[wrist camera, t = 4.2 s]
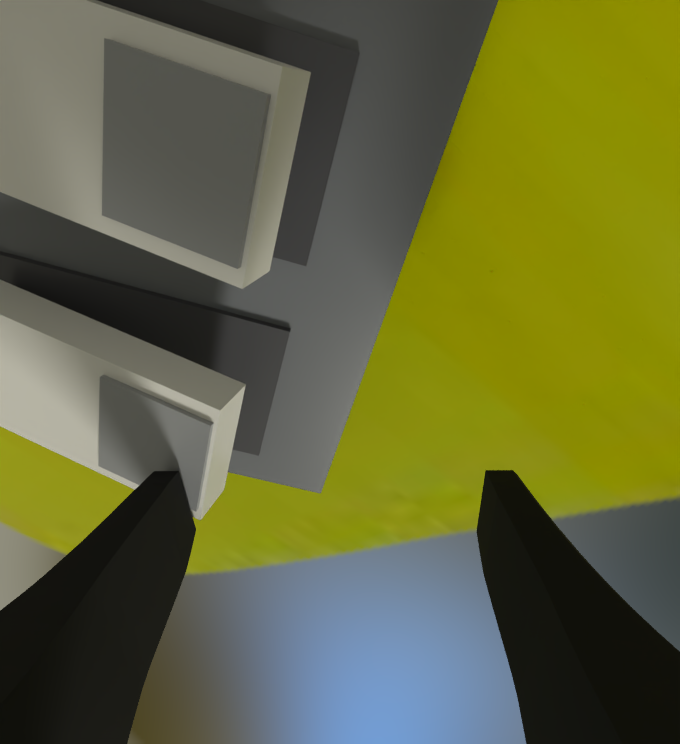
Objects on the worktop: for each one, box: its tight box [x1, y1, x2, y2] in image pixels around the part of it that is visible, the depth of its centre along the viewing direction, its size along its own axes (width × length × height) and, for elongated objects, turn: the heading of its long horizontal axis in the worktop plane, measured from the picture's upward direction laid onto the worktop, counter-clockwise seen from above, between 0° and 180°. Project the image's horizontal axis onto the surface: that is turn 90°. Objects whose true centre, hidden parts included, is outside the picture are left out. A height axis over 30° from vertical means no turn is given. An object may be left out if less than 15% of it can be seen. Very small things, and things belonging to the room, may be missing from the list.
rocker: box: [0, 280, 246, 520], centre depth 12 cm, size 7×4×1 cm, turn 75°
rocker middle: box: [0, 0, 311, 289], centre depth 9 cm, size 7×4×1 cm, turn 74°
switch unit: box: [0, 0, 498, 493], centre depth 12 cm, size 13×20×3 cm, turn 164°
